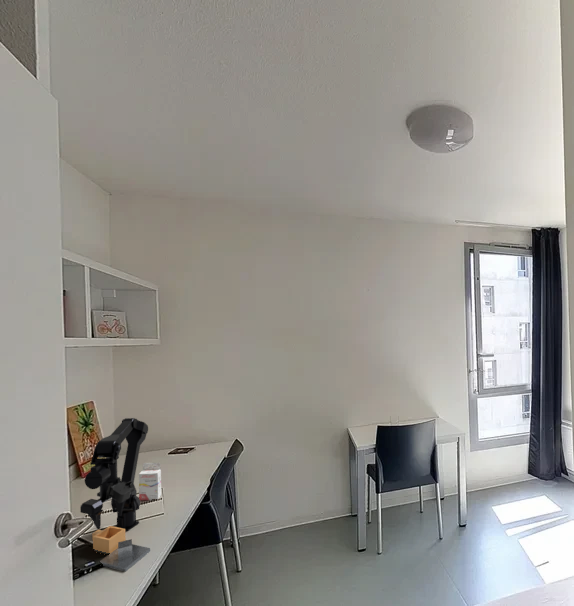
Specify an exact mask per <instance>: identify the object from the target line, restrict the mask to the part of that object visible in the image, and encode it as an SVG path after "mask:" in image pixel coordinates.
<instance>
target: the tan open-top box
mask: <svg viewBox="0 0 574 606" xmlns="http://www.w3.org/2000/svg"><path fill="white" fill-rule="evenodd" d="M91 537H92V539H91V540H92V550H93V549H95V550H98V551H102V552H106V553H112V552H113V551H114V550H116V549H117V548H118V542H122V541H126V531H125V529H123V528H118V527H115V526H112V525H109V526H107V527H106V528H104V529H102V530H101V529H97V530H95V531H94V532H92V533H91Z"/></svg>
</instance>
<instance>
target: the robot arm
mask: <svg viewBox="0 0 574 606" xmlns="http://www.w3.org/2000/svg"><path fill="white" fill-rule="evenodd" d="M148 432H149V426H148V424H147V423H146V422H145V421H142V420H138V419H137V418H135V417H130V418H128V417H126V418H124V419H122V420H121V422H120V424H119V425H117V427H116V429H114V431H113V432H112V433H111V434H110V435H108V436H105V437H103V438H102V439H100V440H99V441H98V442H97V443H96V444H95V447H94V450H93V454H92V457H91V461H90V465H94V466H91V467H90V471H89V472H88V473H87V474H86V475H85V478H84V484H85V486H86V487H87V488H88V489H90V490H96V489H98V488H99V492H97V493H96V496H97V497H99V498H98V499H93V498H90V499H89V500H86V501H84V502H83V503H81V505H80V511H79V512H80V513H82V514H87V515H88V517H89V518H90V520H91V521H92V520H93V521H94V523H93V525H94V526H95V528H96V529H97V530H101V523H102V521H101V520H102V519H101V517H102V516H101V515H102V513H103V512H104V509H103V507H104V504H105V503H106V502H108V501H111V502H110V505H111V510H112V512H113V513H117V517H116V525H115V526H114V527H118V528H123V529H125V532H128V531H129V530H131V529H133V527H136V526H137V525H138V524H140V521H139V520H137V514H136V513H137V512H136V511H138V510H140V506H141V505H140V504H141V500H140V499H139V496H137V488H136V486H135V478H136V473H137V465H138V459H139V454H140V448H141V445H142V444H143V443H144V441H145V440H146V438H147V434H148ZM124 440H125V441H126V443H127V446H126V448H127V449H126V453H125V457H124V464H123V469H122V475H121V477H120V476H119V477H118V459H120V452H121V450H122V443H123V442H124ZM93 521H92V522H93Z"/></svg>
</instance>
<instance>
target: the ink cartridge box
mask: <svg viewBox="0 0 574 606" xmlns="http://www.w3.org/2000/svg"><path fill="white" fill-rule="evenodd" d="M161 496H162V470H161V462H143V463H142V470H141V471H140V472H139V473H138V498H139V499H140V501H153V500H152V499H158V500H159V499H160V498H161Z"/></svg>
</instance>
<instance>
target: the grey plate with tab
mask: <svg viewBox="0 0 574 606" xmlns="http://www.w3.org/2000/svg"><path fill="white" fill-rule="evenodd" d="M150 552H151V548H150V547H146V546H142V545H137V544H133V539H132V538H131V539H127V540H126V541H122V542H118V548H117V549H116V550H114V551H113V552H112V553H110V554H109V555H106V556H105V557H104V558H102V559H101V560H99V561H100V562H101V563H102V564H103V567H107V568H110V569H113V570H114V569H115V570H118V571H122V572H125V573H126V572H127V571H128V570H129V569H130V568H132V567H133V566H134V565H136V564H137V563H138V562H139V561H141V559H143V558H144V557H145V556H146V555H148V554H149V553H150ZM147 553H148V554H147Z"/></svg>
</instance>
